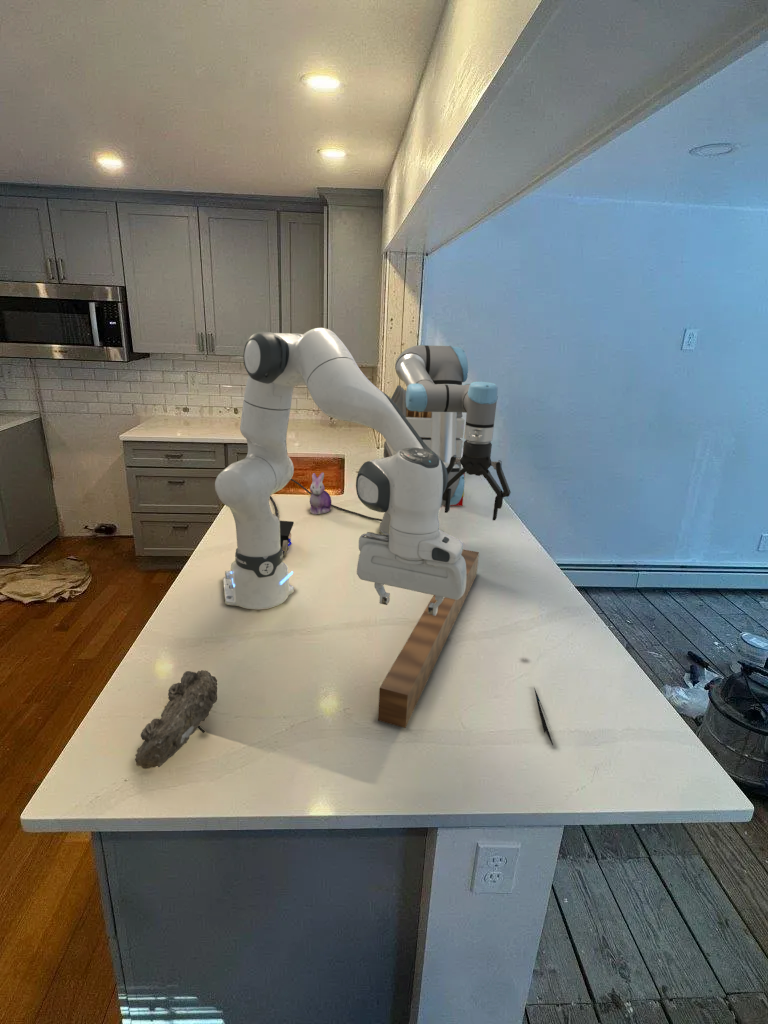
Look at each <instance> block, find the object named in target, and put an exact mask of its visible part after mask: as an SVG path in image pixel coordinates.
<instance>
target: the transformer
mask: <svg viewBox="0 0 768 1024" xmlns="http://www.w3.org/2000/svg"><path fill="white" fill-rule="evenodd" d="M406 390H407V389H404V388H403V387H402V385H399V384H398V385H397V386H396V388H395V390H394V392H393V394H392V395H391V397H390V398H391V399H392V401H393V402H394V403H395V404H396V405H397V407H398V408H399V409H400V411H401V412H402V413H403V415H404V416H405V417H406V419H407V420H408V421H409V423H410V424H411V425H412V427H413V428H414V430H415V431H416V432H417V434H418V435H419V436H420V438H421V439H422V440H423V442H424V443H425V444H426V445H427V446H428V447H429V448H430V449H431V419H432V412H417V411H410V410H408V409H407V407H406ZM465 422H466V419H464V418H463V412H457V418H456V452H455V455H456V456H457V457H461V458H462V454H463V444H464V441H463V440H462V439H464V433H465ZM395 454H396V453H395V452H394V451H393V449H392V448H391V446H390V445H389V444H388V442H387V441H386V439H385V438H384V442H383V458H386V457H390V456H393V455H395ZM457 465H458V466H459V471H460V470H461V469H462V464H461V463H460V462H458V463H457Z"/></svg>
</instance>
